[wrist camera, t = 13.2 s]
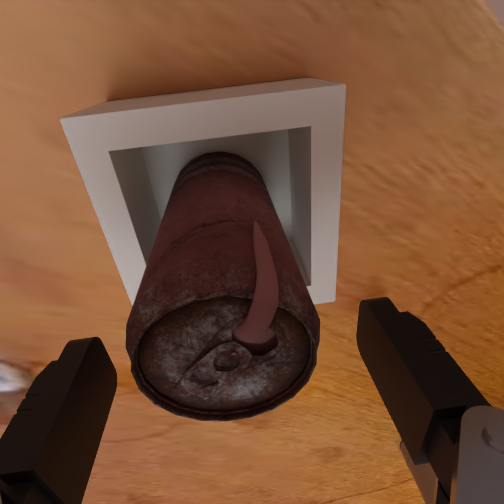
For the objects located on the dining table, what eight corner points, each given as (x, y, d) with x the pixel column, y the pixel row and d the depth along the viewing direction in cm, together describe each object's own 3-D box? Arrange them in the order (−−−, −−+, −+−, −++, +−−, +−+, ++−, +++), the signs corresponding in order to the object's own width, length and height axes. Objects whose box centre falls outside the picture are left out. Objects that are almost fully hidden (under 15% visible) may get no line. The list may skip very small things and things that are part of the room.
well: (307, 77, 19) (346, 84, 13) (308, 248, 25) (335, 301, 20) (105, 101, 18) (59, 118, 13) (157, 269, 25) (141, 329, 19)
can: (277, 156, 20) (366, 295, 8) (253, 242, 23) (294, 433, 11) (180, 134, 19) (121, 261, 7) (169, 228, 22) (113, 427, 10)
